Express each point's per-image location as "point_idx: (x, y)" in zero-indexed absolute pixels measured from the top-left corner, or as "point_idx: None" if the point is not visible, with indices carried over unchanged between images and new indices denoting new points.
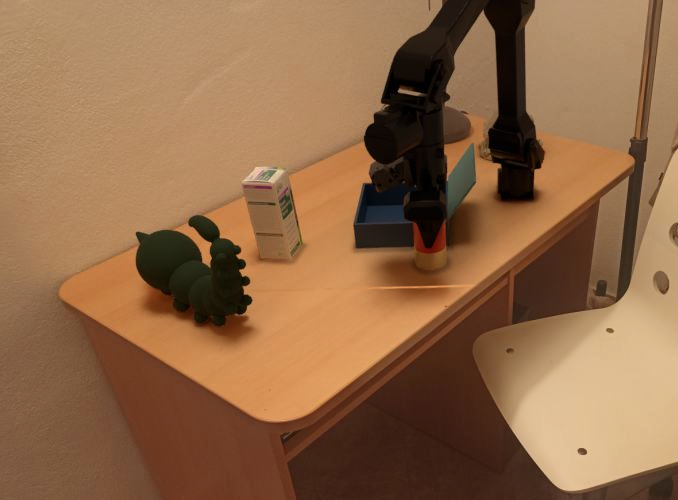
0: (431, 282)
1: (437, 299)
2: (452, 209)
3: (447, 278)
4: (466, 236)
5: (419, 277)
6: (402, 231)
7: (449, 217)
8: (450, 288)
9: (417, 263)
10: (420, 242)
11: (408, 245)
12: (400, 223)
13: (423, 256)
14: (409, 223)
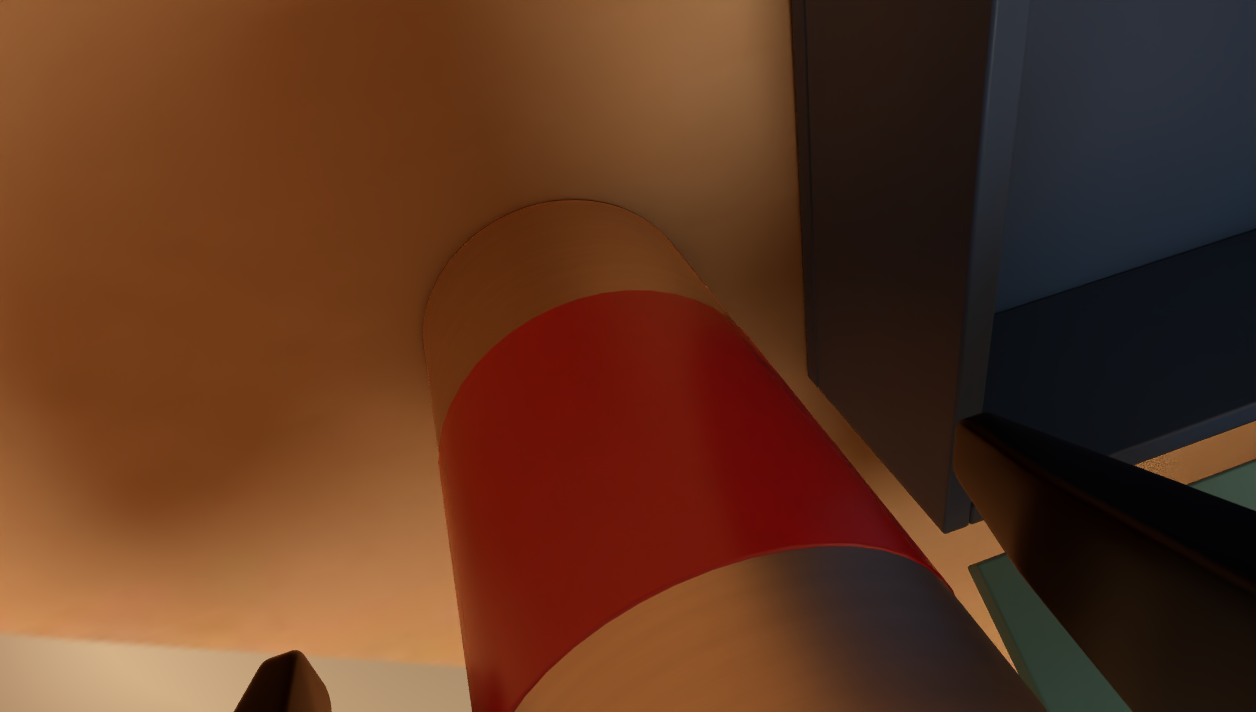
0: (275, 423)
1: (33, 547)
2: (1054, 643)
3: (380, 503)
4: None
5: (317, 308)
6: (908, 43)
7: (977, 577)
8: (246, 565)
9: (463, 276)
10: (455, 509)
11: (811, 62)
12: (989, 48)
13: (438, 412)
14: (975, 173)
